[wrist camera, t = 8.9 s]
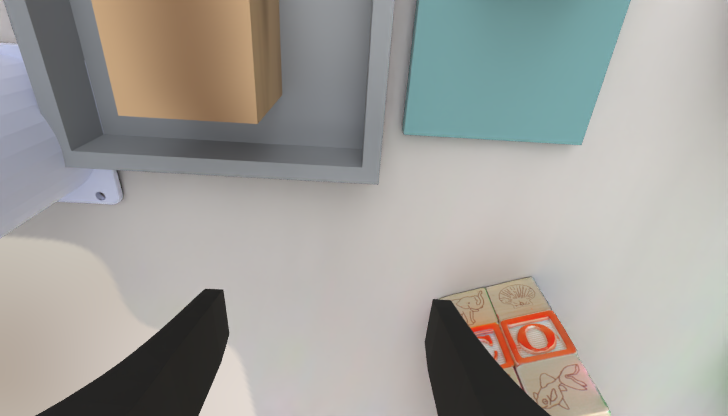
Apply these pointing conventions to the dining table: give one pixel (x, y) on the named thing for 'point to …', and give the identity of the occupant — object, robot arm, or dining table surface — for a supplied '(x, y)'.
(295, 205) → the dining table surface
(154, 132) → the tray
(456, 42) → the teal board
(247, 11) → the plain box
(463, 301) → the stack of blocks
